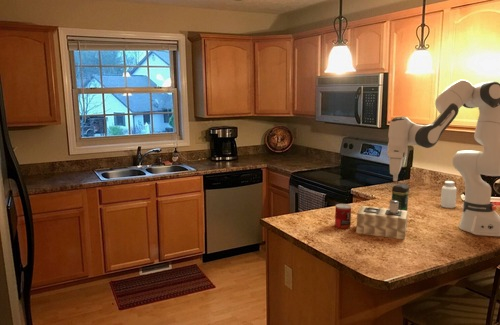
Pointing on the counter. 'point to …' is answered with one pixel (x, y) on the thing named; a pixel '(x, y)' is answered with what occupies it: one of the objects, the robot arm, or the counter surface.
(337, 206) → the canned food
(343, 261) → the counter surface
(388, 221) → the socket block
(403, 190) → the coffee jar
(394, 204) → the peg
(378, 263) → the counter surface
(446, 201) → the pill bottle
